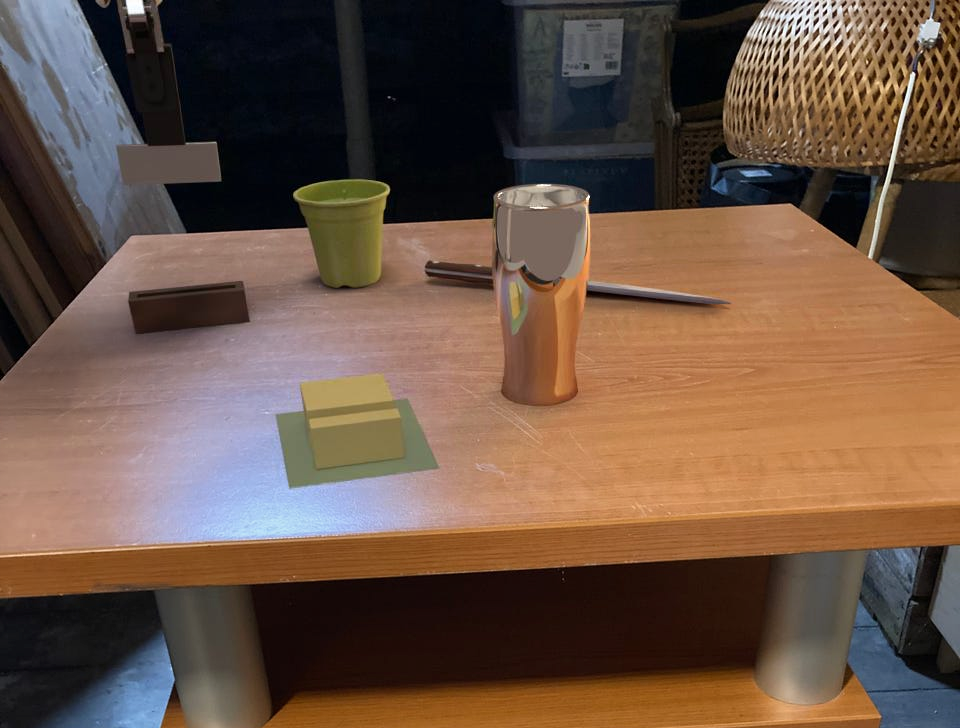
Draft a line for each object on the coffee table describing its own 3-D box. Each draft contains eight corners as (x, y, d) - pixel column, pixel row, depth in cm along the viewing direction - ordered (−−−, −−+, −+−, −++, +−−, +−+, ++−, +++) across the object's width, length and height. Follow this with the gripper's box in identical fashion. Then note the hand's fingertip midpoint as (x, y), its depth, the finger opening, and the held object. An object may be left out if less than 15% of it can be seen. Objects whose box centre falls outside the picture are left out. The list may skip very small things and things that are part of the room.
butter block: (311, 451, 69) (306, 410, 67) (305, 421, 73) (299, 382, 71) (397, 440, 70) (393, 399, 68) (386, 411, 74) (382, 372, 72)
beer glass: (536, 376, 81) (538, 178, 72) (603, 400, 77) (613, 192, 68) (475, 403, 77) (469, 196, 68) (542, 429, 73) (544, 213, 64)
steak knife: (437, 265, 104) (436, 247, 103) (735, 297, 96) (738, 278, 95) (421, 281, 101) (420, 263, 100) (728, 316, 93) (731, 297, 92)
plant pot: (339, 301, 97) (329, 207, 92) (287, 280, 103) (274, 191, 98) (414, 279, 102) (409, 189, 97) (361, 261, 108) (352, 174, 103)
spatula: (122, 187, 82) (97, 47, 76) (123, 182, 84) (98, 44, 78) (222, 183, 84) (204, 45, 78) (220, 178, 85) (203, 43, 79)
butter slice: (316, 469, 67) (310, 428, 65) (314, 459, 68) (308, 418, 66) (404, 458, 68) (401, 416, 66) (400, 448, 69) (397, 407, 67)
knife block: (135, 333, 92) (127, 301, 90) (136, 323, 94) (129, 291, 92) (249, 321, 93) (244, 289, 92) (248, 312, 96) (242, 280, 94)
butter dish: (291, 501, 65) (289, 488, 65) (277, 426, 75) (275, 413, 74) (440, 481, 67) (439, 467, 66) (408, 410, 76) (407, 397, 76)
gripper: (54, -179, 75) (113, 97, 86) (32, -196, 63) (104, 129, 74) (157, -180, 76) (202, 91, 87) (155, -197, 64) (208, 122, 75)
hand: (157, 106), depth 80 cm, fingers closed on spatula, 1 cm apart
